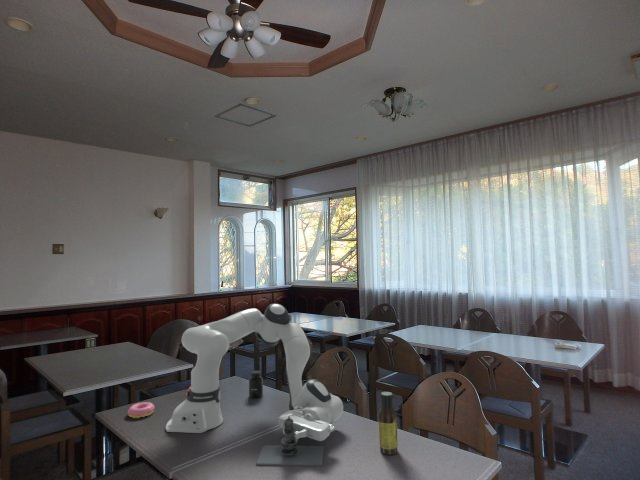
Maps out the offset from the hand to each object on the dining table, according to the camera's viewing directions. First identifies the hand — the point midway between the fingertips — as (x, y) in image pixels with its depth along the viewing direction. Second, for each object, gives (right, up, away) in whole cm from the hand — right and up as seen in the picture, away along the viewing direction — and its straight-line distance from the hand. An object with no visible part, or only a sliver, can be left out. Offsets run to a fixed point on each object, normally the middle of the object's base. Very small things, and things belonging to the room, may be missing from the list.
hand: (289, 434), depth 134 cm
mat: (+1, -8, 0) cm, 8 cm away
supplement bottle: (-21, -10, +57) cm, 62 cm away
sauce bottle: (+35, -7, +2) cm, 35 cm away
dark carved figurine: (0, -6, 0) cm, 6 cm away
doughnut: (-69, -11, +39) cm, 80 cm away
